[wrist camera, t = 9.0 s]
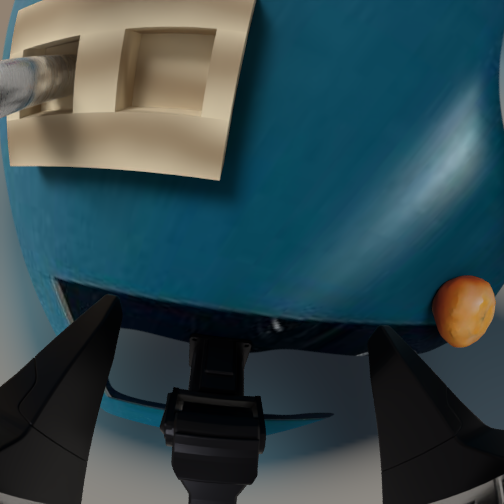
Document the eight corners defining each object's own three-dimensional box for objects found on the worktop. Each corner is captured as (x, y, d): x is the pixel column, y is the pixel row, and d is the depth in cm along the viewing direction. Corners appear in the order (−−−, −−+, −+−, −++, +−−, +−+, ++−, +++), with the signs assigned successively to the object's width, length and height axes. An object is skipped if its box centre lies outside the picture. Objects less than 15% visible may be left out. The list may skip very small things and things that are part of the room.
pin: (83, 95, 14) (1, 121, 7) (49, 98, 13) (-31, 128, 7) (87, 51, 12) (4, 55, 5) (52, 58, 11) (-30, 71, 5)
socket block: (223, 164, 18) (219, 180, 15) (33, 152, 16) (10, 166, 13) (257, -6, 11) (260, -22, 8) (42, 12, 9) (18, 10, 6)
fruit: (411, 335, 28) (452, 361, 20) (421, 269, 27) (468, 281, 19) (455, 328, 28) (494, 348, 20) (464, 269, 27) (508, 279, 19)
